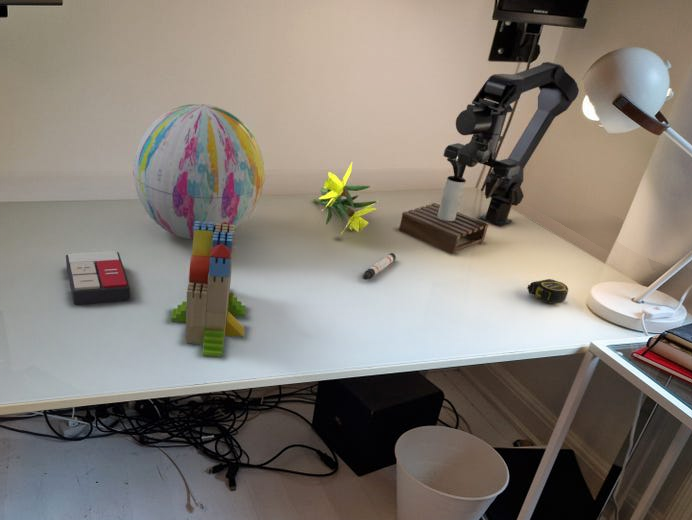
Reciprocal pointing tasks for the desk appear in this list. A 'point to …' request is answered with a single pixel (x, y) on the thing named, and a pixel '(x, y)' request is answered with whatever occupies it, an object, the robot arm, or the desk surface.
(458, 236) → the rack
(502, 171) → the robot arm
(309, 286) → the desk surface
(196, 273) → the block set
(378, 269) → the marker
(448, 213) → the grey hollow cylinder
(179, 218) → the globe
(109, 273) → the calculator
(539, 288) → the tape measure
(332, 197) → the daffodil flowers
